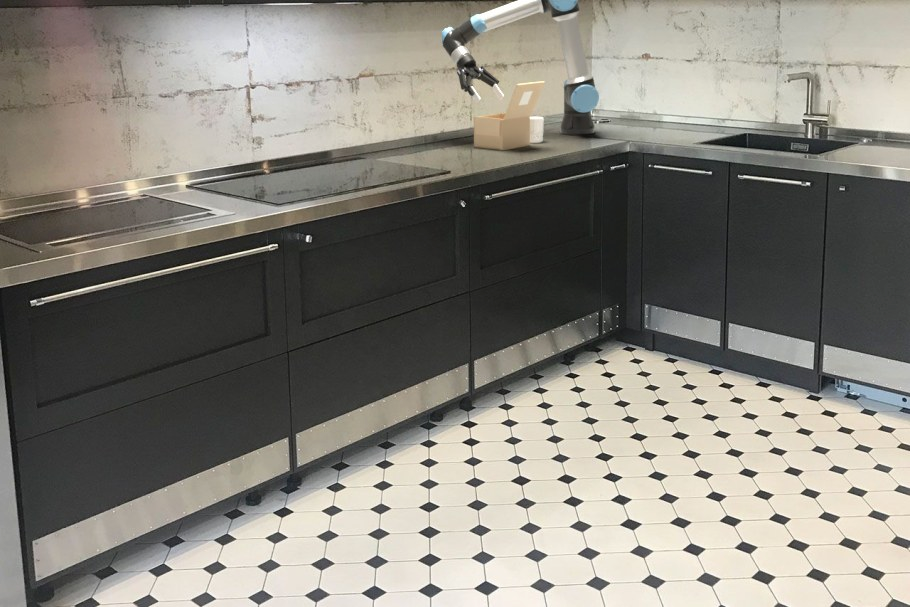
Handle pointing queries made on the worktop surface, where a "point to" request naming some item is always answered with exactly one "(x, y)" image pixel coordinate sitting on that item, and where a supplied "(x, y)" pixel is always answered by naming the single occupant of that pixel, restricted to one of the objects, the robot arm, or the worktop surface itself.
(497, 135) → the carton
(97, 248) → the worktop surface
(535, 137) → the white cup
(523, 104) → the lid flap
